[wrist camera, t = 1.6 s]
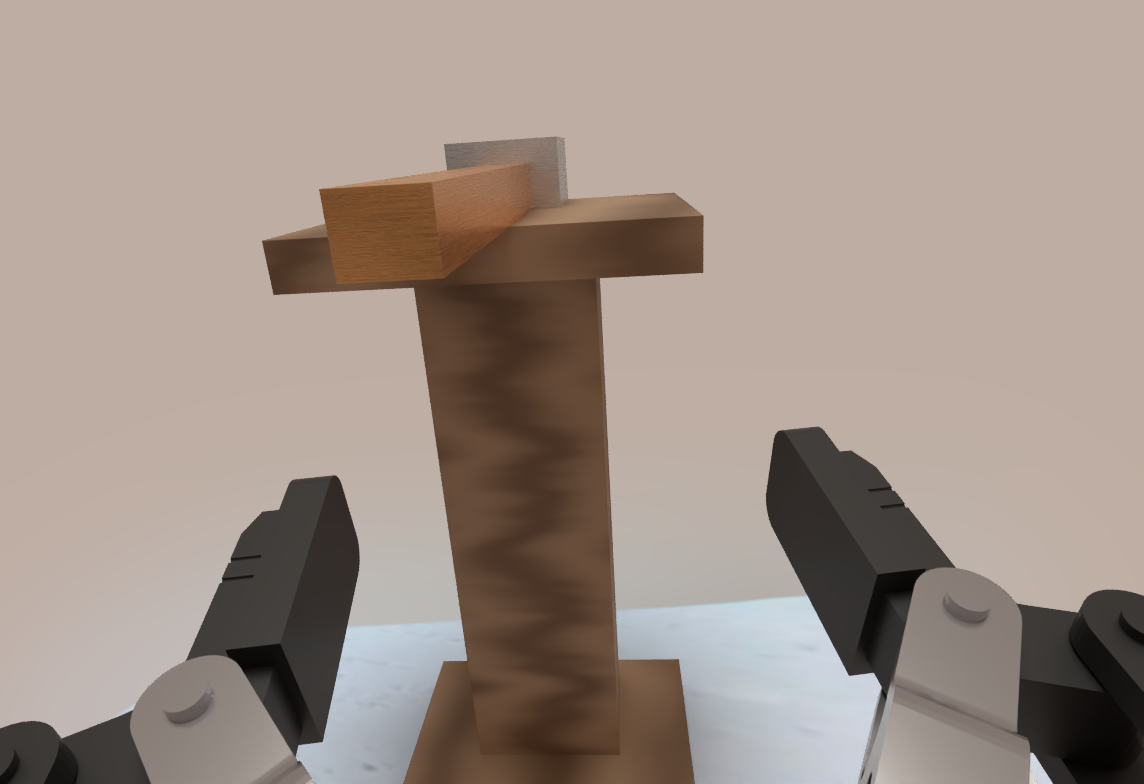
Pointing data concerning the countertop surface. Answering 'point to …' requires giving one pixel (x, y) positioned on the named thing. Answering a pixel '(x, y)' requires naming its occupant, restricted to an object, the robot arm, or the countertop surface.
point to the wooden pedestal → (534, 496)
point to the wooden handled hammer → (441, 210)
